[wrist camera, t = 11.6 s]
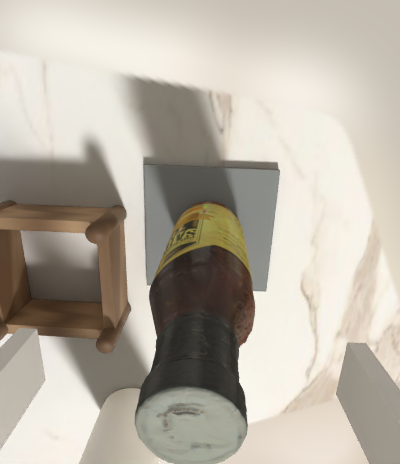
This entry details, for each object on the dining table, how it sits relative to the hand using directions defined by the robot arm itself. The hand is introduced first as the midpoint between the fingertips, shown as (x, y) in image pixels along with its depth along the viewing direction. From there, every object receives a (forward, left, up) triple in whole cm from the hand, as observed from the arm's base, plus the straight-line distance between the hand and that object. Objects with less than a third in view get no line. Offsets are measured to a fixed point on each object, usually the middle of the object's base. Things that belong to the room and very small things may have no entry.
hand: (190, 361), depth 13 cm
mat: (0, 0, -18) cm, 18 cm away
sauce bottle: (0, 0, -17) cm, 17 cm away
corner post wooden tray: (-14, -4, -18) cm, 23 cm away
